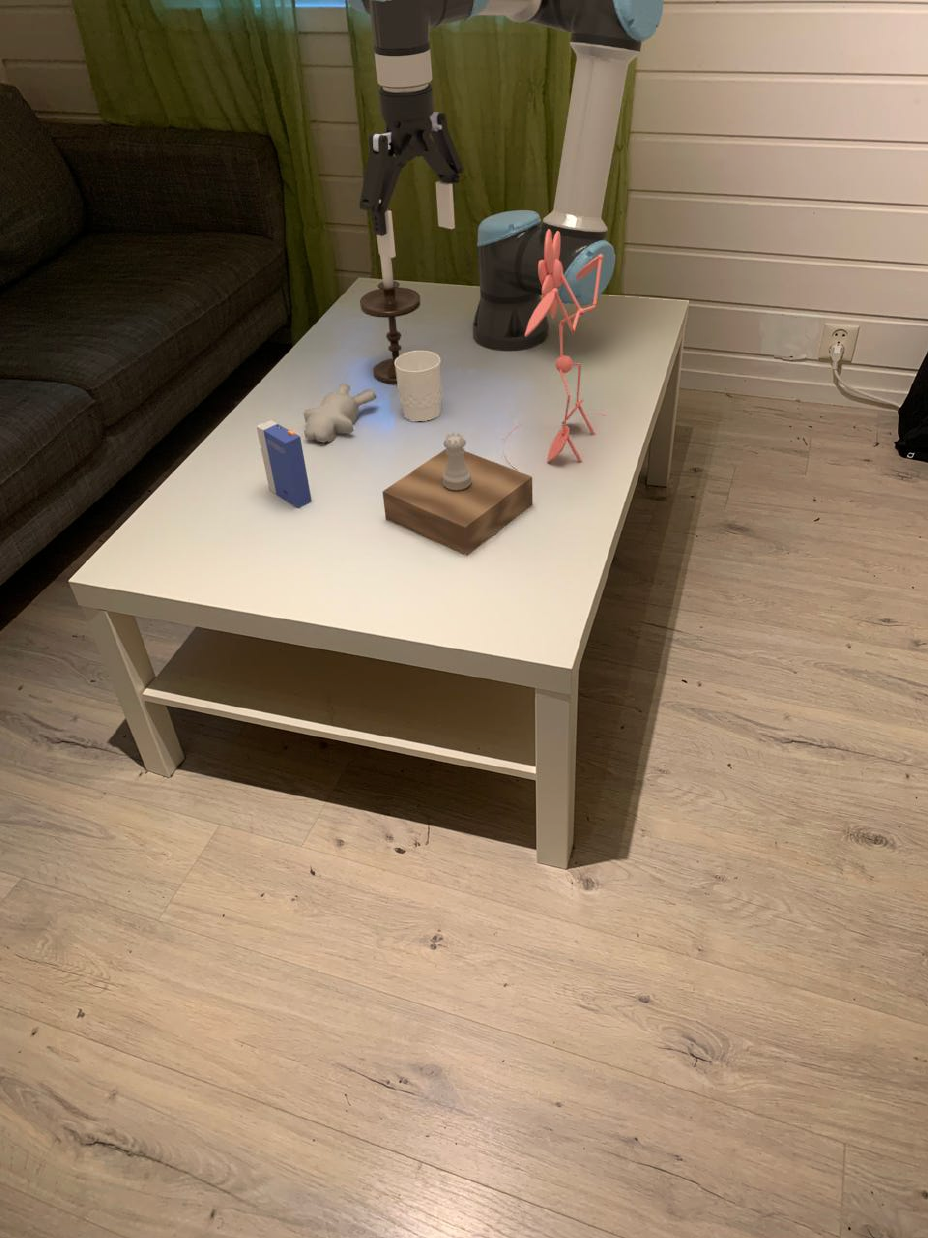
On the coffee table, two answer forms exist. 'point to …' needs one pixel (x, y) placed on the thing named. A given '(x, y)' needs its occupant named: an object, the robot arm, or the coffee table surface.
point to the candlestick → (389, 315)
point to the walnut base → (458, 502)
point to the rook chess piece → (456, 464)
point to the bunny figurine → (335, 414)
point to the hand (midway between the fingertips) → (417, 240)
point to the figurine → (561, 324)
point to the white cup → (419, 384)
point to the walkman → (284, 463)
